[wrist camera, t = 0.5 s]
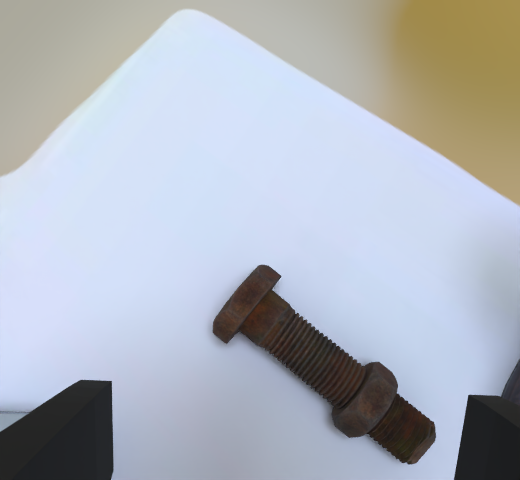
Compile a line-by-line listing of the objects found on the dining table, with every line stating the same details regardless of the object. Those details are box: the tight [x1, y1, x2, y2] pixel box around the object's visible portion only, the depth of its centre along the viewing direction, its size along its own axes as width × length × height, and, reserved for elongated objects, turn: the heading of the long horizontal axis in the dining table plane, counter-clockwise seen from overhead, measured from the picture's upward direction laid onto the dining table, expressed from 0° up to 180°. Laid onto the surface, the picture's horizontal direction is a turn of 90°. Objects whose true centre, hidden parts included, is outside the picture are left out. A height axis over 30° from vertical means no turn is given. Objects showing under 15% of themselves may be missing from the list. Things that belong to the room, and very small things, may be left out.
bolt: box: [213, 265, 436, 464], centre depth 30 cm, size 6×5×15 cm
